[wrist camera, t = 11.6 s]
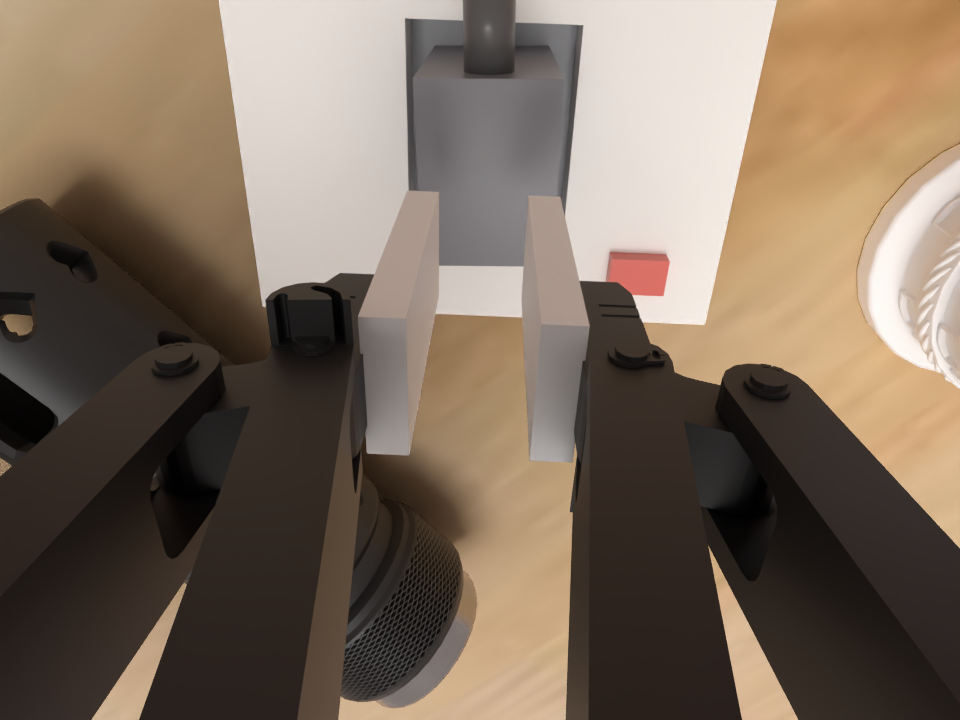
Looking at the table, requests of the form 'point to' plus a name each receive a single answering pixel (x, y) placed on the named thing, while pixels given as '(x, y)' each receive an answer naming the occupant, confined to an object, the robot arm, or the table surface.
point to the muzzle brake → (78, 377)
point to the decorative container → (917, 269)
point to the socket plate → (583, 147)
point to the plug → (487, 135)
